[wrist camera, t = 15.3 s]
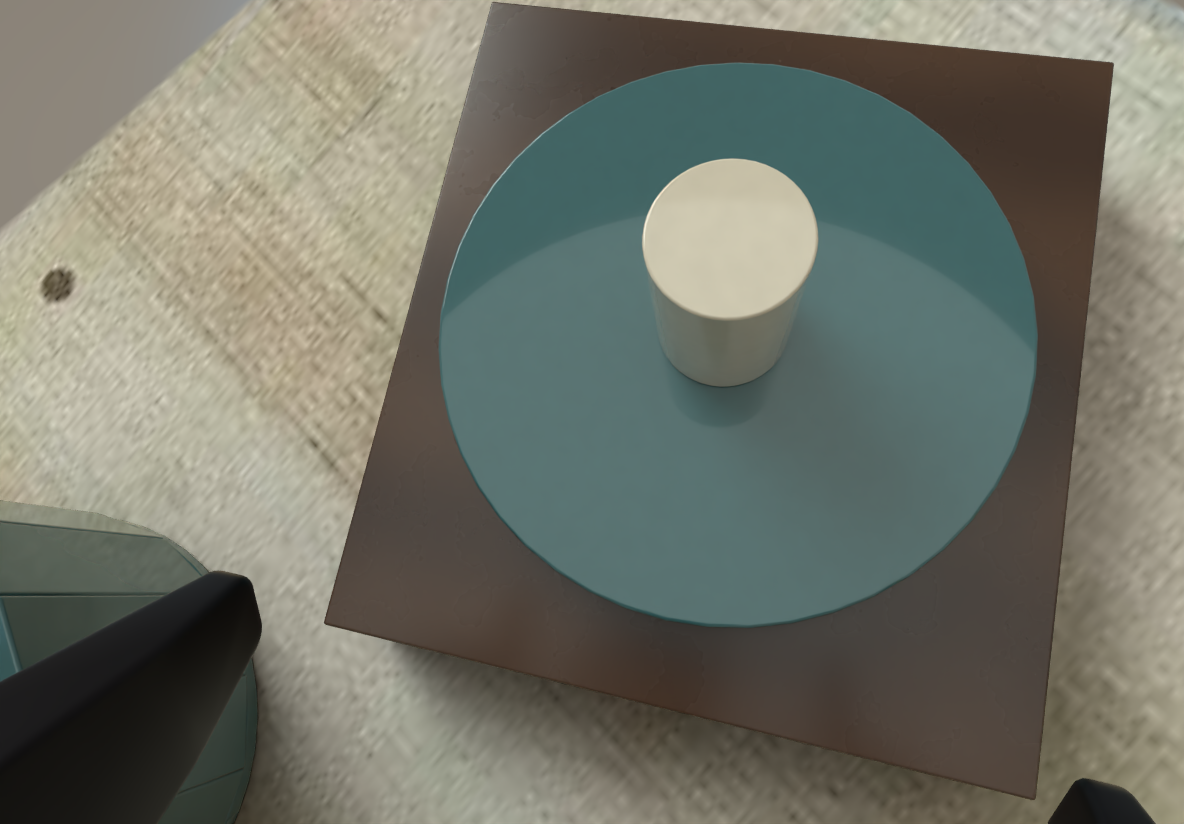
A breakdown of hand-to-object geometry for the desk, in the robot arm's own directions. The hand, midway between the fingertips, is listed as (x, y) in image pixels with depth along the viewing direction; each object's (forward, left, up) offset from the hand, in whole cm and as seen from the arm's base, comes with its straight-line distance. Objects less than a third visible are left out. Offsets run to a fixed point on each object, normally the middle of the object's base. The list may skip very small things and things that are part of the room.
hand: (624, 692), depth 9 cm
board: (+6, -3, -10) cm, 12 cm away
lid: (+6, -3, -7) cm, 9 cm away
